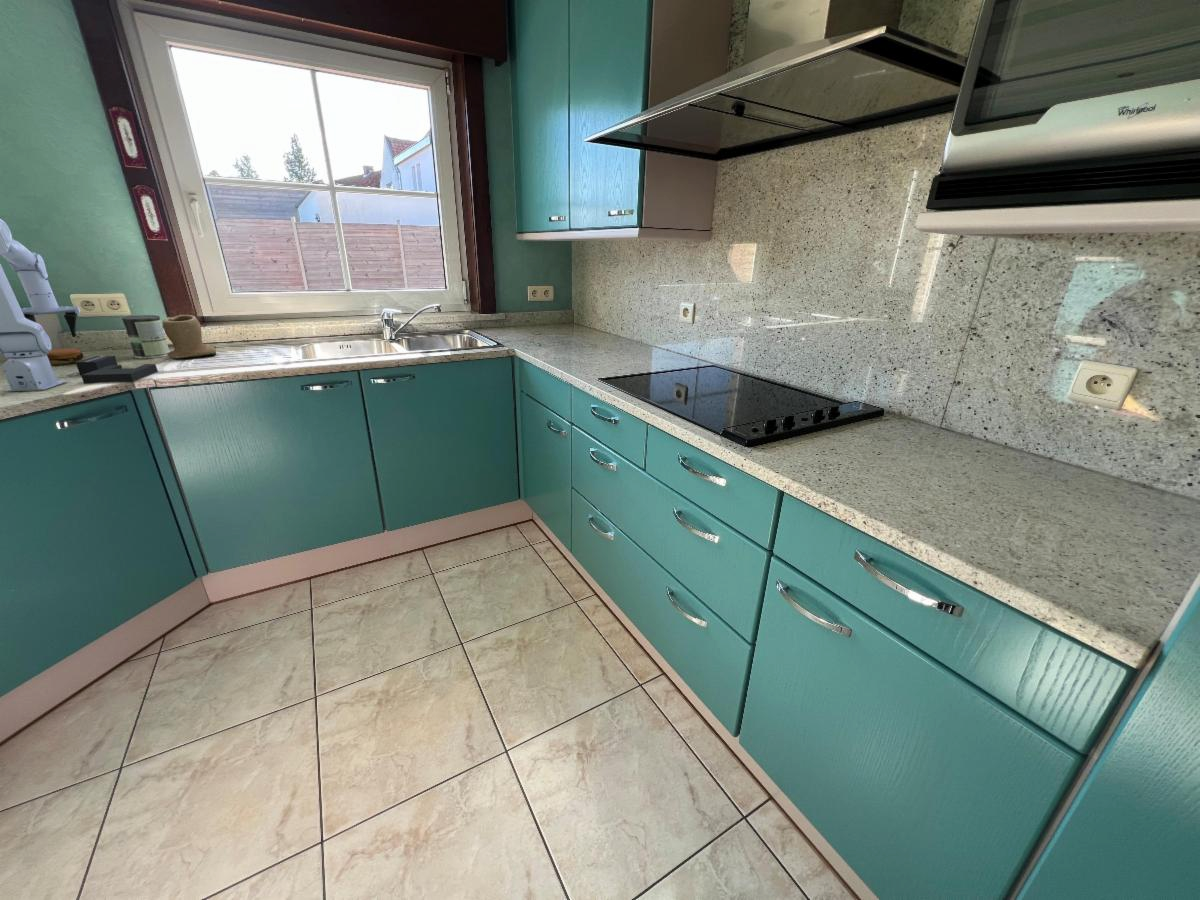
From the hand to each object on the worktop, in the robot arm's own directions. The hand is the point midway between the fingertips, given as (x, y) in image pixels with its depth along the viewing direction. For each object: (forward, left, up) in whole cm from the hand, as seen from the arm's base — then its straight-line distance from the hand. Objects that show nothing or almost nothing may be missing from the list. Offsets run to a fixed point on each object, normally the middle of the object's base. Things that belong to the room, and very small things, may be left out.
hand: (57, 337), depth 158 cm
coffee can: (+18, -15, -10) cm, 25 cm away
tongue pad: (-7, -12, -10) cm, 17 cm away
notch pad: (-17, -23, -10) cm, 30 cm away
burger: (+9, +6, -10) cm, 15 cm away
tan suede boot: (+14, -30, -10) cm, 34 cm away
